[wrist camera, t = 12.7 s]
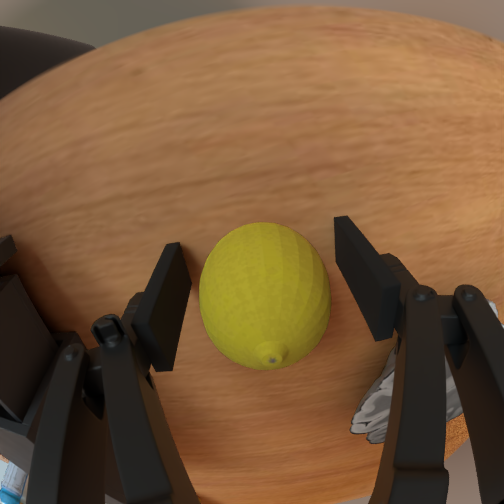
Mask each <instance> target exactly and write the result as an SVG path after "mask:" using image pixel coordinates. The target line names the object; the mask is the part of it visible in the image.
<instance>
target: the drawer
mask: <svg viewBox="0 0 504 504" xmlns="http://www.w3.org/2000/svg"><path fill="white" fill-rule="evenodd" d="M16 252H17V248H16V246H15V243H14V241H13V238H12V236H11V235H9V236H6V237H3V238H0V267H1V266H2V265H3V264H4V263H5V262H6V261H7V260H8V259H9V258H10V257H11V256H12V255H13V254H15V253H16ZM58 349H59V346H58V345H57V343H56V342H55V340H54V339H53V337H52V336H51V334H50V332H49V331H48V329H47V328H46V326H45V324H44V323H43V321H42V319H41V318H40V316H39V314H38V313H37V311H36V309H35V307H34V306H33V304H32V302H31V300H30V298H29V297H28V295H27V293H26V291H25V289H24V287H23V285H22V283H21V281H20V279H19V277H18V275H17V274H14V275H9V276H4V277H0V417H2V418H5V419H8V420H11V421H14V422H18V423H21V424H22V423H23V421H24V418H25V416H26V414H27V411H28V409H29V407H30V405H31V403H32V401H33V398H34V396H35V394H36V392H37V390H38V388H39V386H40V384H41V382H42V380H43V378H44V376H45V374H46V372H47V370H48V368H49V366H50V364H51V362H52V361H53V359H54V357H55V355H56V353H57V351H58Z"/></svg>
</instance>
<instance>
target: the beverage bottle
mask: <svg viewBox="0 0 504 504" xmlns="http://www.w3.org/2000/svg"><path fill="white" fill-rule="evenodd" d="M28 480H29V474H27V473H26V472H24V471H23V470H21V469H20V468H19V467H17V466H16V465H15V464H13V463H12V462H11V461H9V464H8V467H7V469H6V472H5V475H4V478H3V481H2V482H1V486H2V488H1V490H0V499H1V502H2V504H26V496H27V487H28Z"/></svg>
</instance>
